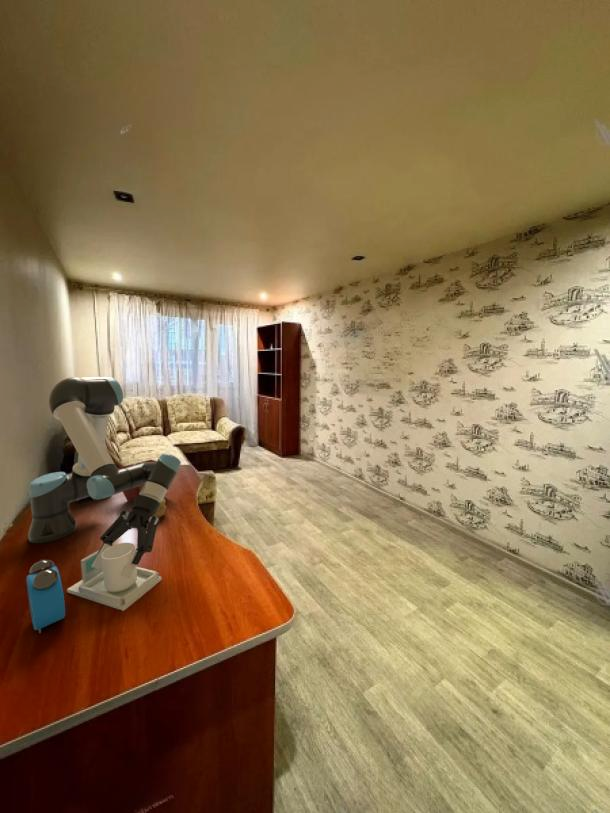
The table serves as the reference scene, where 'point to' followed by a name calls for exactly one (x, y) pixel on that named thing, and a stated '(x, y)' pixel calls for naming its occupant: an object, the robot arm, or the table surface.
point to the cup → (117, 567)
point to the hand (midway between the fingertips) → (110, 572)
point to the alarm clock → (45, 594)
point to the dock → (121, 600)
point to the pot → (161, 509)
